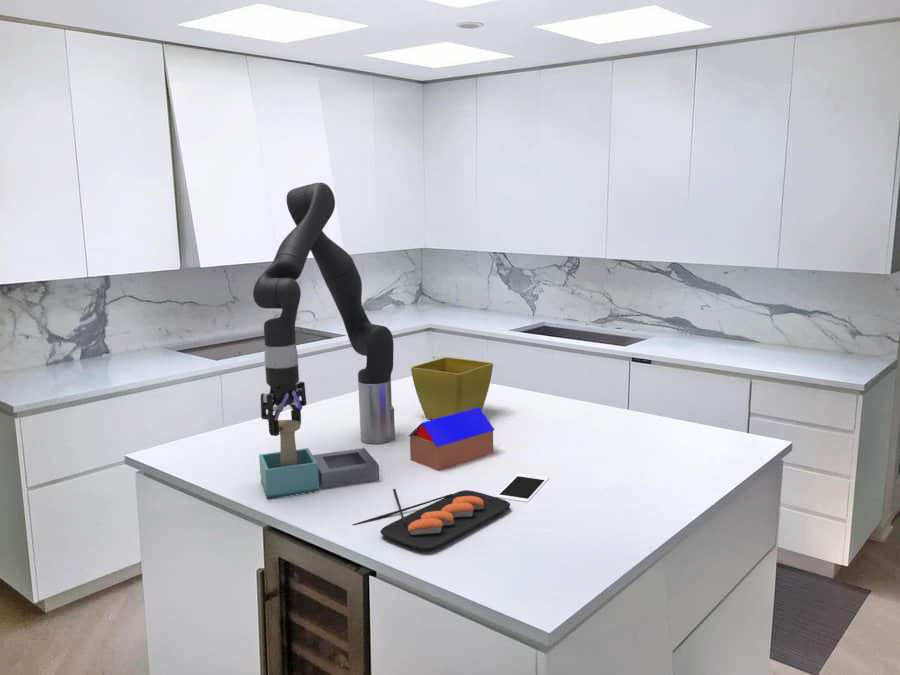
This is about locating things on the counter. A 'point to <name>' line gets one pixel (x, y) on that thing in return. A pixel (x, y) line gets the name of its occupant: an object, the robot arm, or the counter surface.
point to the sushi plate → (441, 519)
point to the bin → (288, 474)
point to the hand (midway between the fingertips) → (285, 430)
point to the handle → (288, 442)
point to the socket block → (346, 468)
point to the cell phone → (522, 487)
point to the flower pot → (451, 385)
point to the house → (452, 440)
